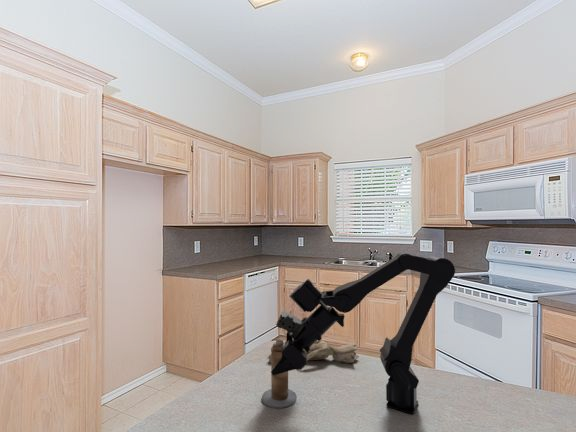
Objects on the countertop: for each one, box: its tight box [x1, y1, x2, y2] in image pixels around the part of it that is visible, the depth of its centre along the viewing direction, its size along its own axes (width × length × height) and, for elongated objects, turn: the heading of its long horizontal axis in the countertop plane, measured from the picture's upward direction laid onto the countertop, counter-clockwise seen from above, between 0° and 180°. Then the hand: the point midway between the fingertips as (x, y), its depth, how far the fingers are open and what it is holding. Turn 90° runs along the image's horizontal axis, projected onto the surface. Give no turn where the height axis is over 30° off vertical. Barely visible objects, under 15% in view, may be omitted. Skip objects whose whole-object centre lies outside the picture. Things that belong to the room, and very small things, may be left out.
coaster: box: [261, 388, 297, 409], centre depth 86 cm, size 9×9×1 cm
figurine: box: [268, 340, 360, 364], centre depth 112 cm, size 17×6×30 cm
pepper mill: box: [270, 337, 289, 401], centre depth 86 cm, size 4×4×15 cm
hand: (274, 365), depth 86 cm, fingers open, 9 cm apart
